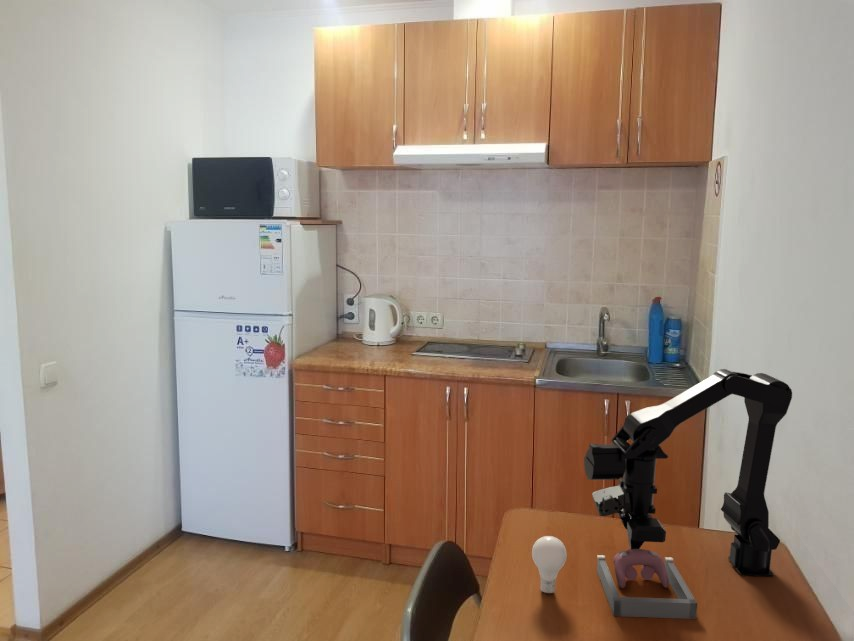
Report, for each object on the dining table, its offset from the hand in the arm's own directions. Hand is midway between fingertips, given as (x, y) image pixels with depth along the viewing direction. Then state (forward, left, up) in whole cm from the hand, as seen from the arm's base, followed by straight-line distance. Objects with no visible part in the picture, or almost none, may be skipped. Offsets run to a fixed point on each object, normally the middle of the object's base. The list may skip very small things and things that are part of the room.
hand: (633, 552), depth 132 cm
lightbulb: (+18, +8, -4) cm, 20 cm away
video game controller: (-1, +4, -4) cm, 6 cm away
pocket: (0, +7, -4) cm, 8 cm away
